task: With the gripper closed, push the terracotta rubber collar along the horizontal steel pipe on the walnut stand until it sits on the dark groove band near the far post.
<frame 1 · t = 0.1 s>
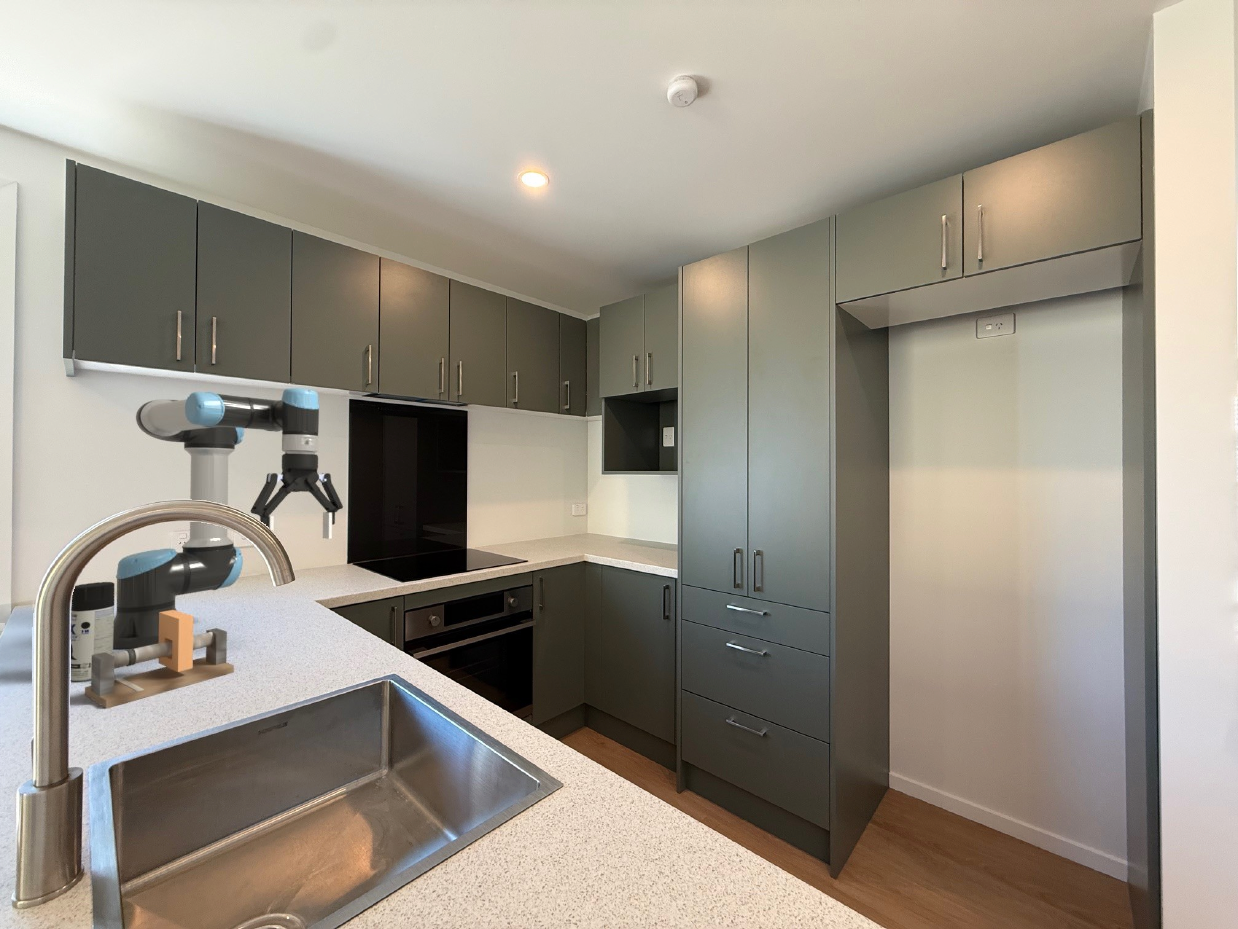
hand: (299, 541, 126), 28 cm above the table, tool pointing down, fingers open, 13 cm apart
pipe stand: (163, 682, 111), on the table
collar: (175, 639, 112), point 8 cm above the table, slide at -2.0 cm
spray can: (91, 677, 114), on the table
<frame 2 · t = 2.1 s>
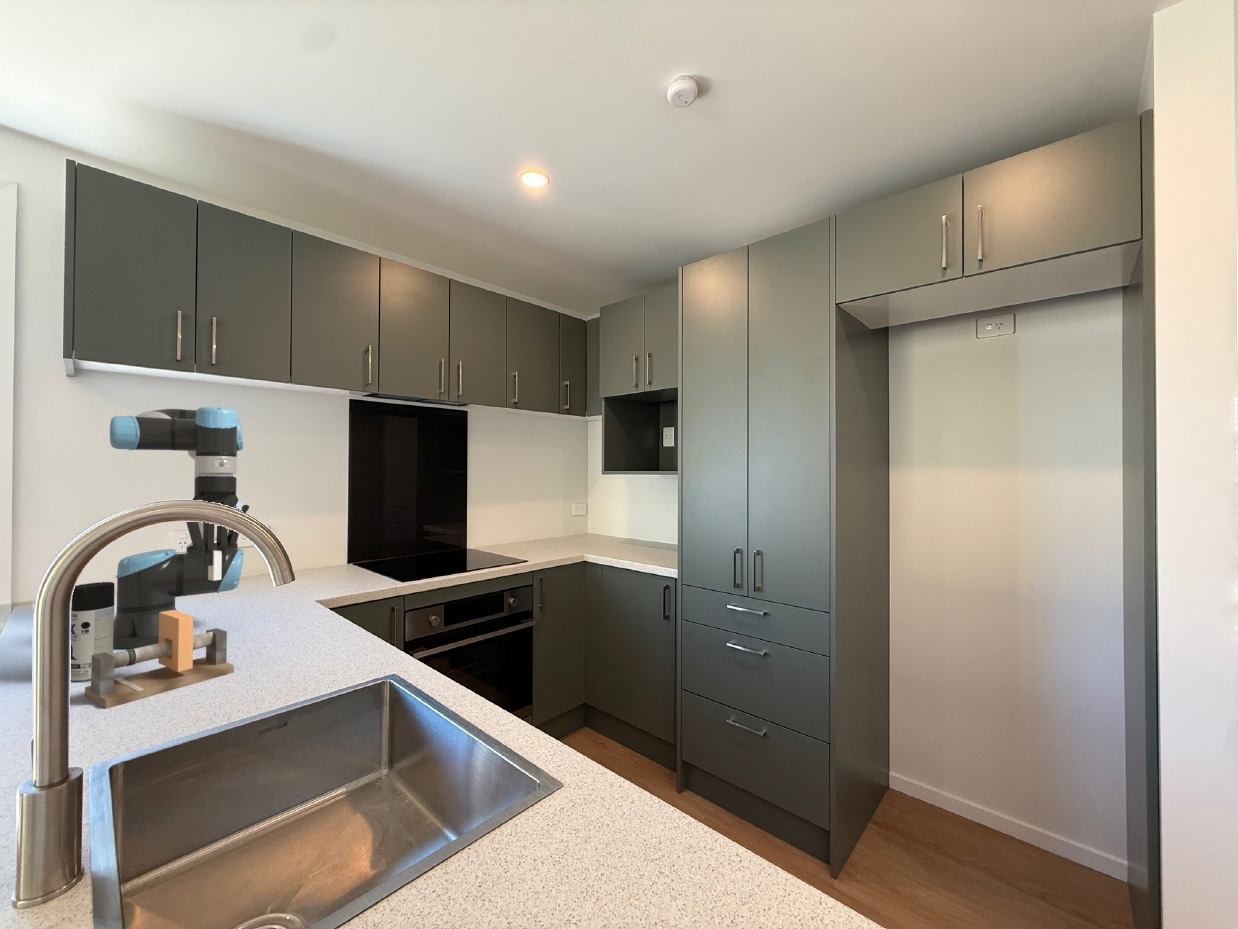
hand: (214, 579, 118), 20 cm above the table, tool pointing down, fingers closed
nothing on the table moved.
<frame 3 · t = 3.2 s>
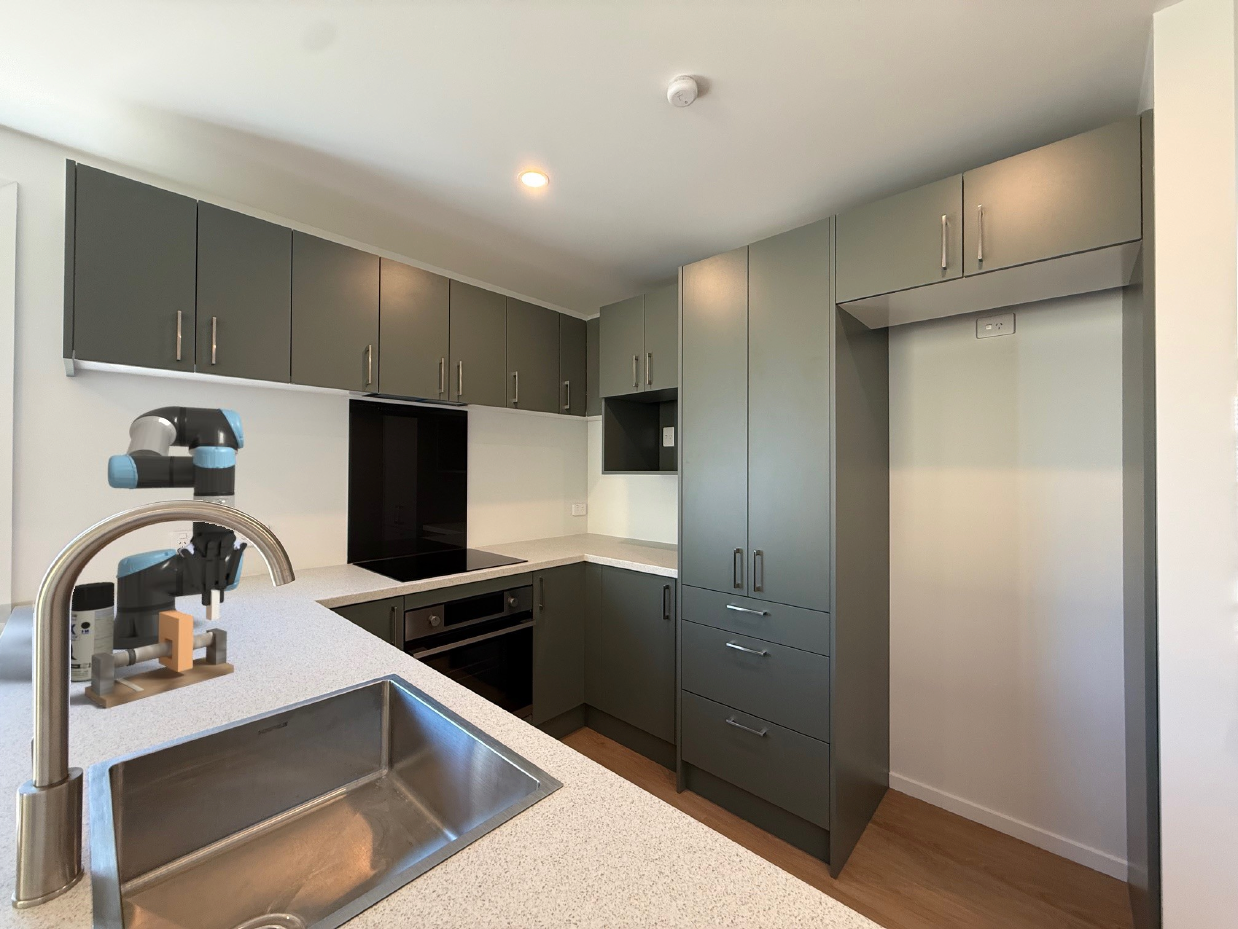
hand: (212, 618, 118), 11 cm above the table, tool pointing down, fingers closed
nothing on the table moved.
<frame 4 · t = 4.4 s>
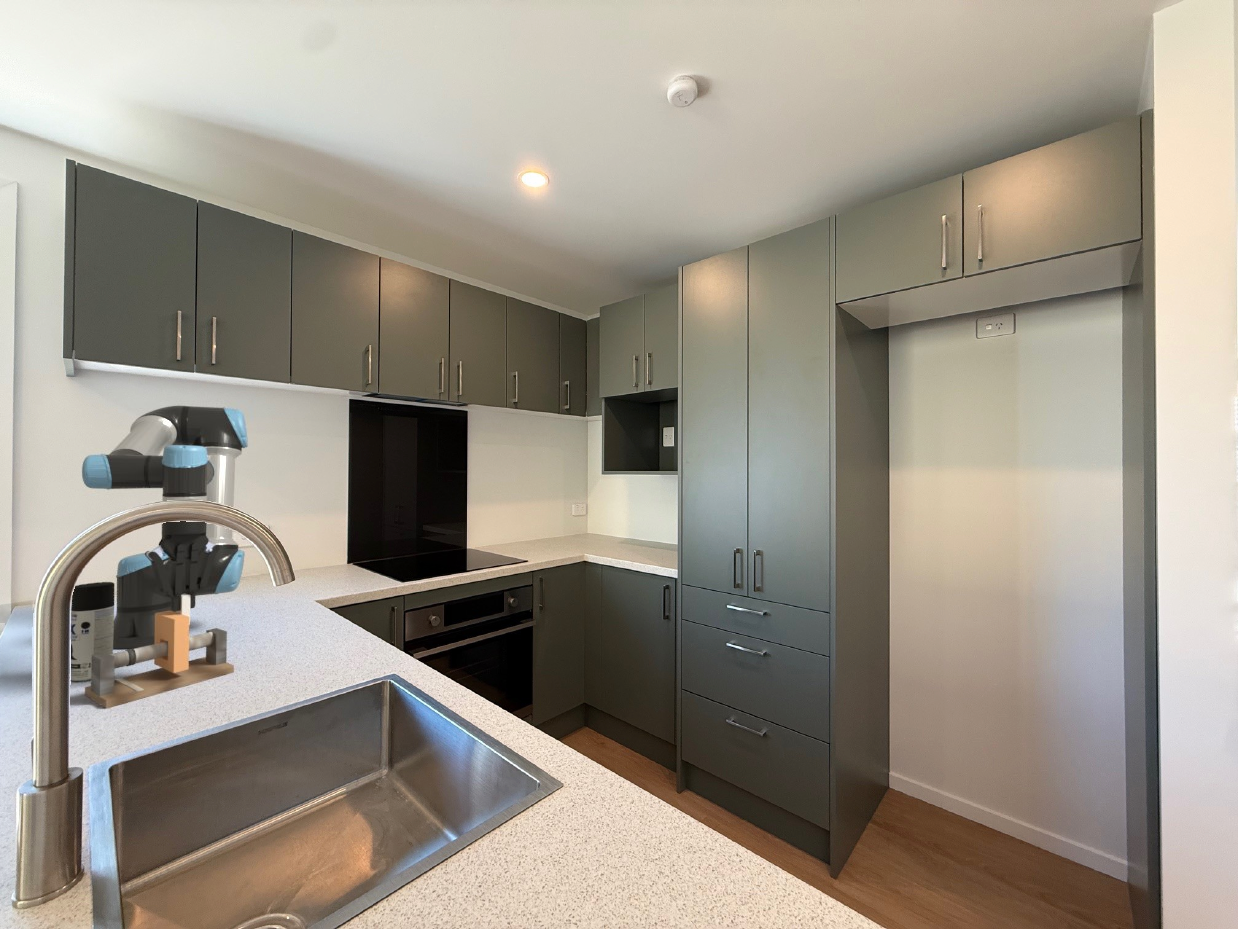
hand: (183, 624, 114), 11 cm above the table, tool pointing down, fingers closed
collar: (171, 640, 112), point 8 cm above the table, slide at -1.3 cm, touching gripper
everything else where it was.
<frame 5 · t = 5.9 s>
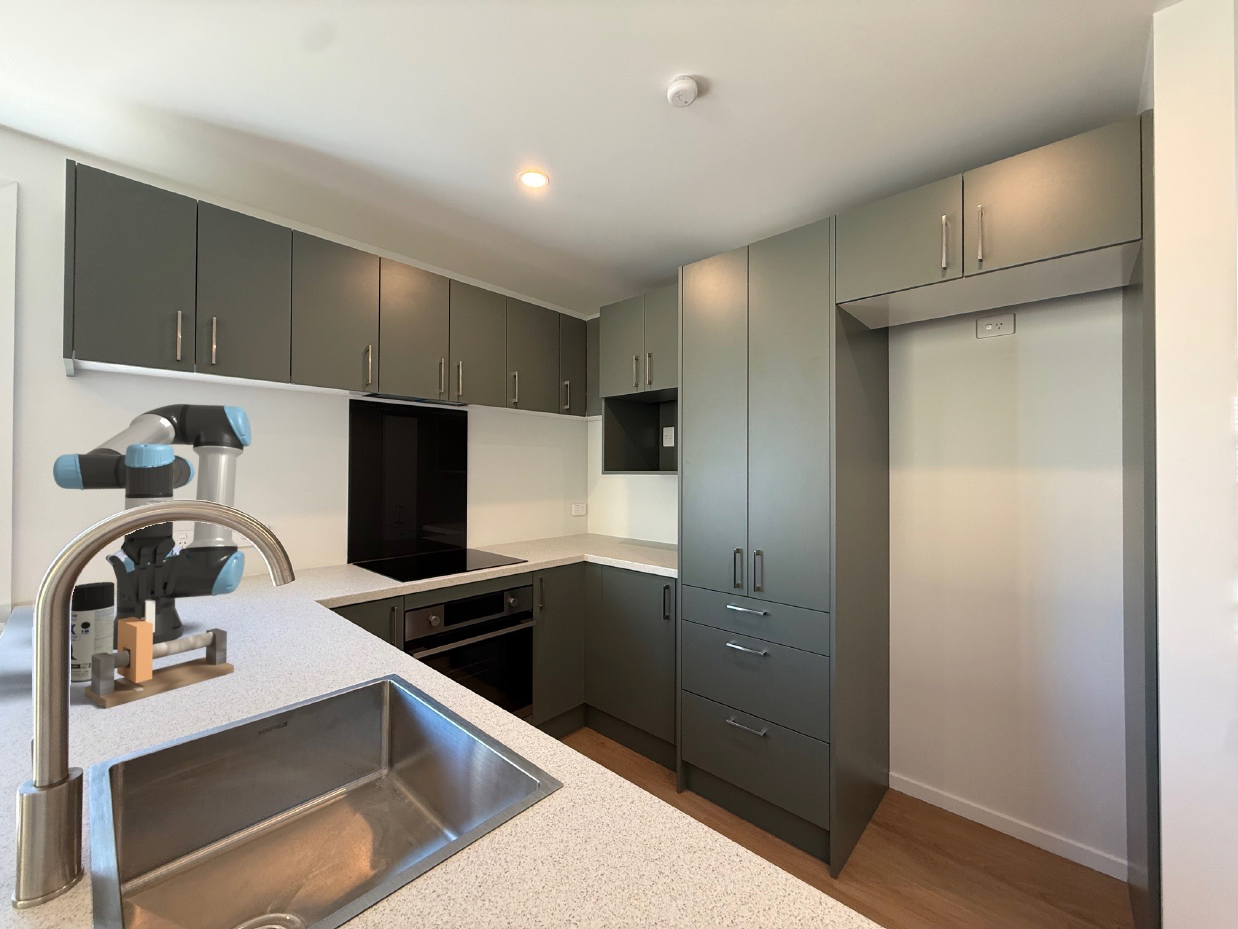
hand: (147, 632, 108), 11 cm above the table, tool pointing down, fingers closed
collar: (134, 648, 107), point 8 cm above the table, slide at 4.7 cm, touching gripper
everything else where it was.
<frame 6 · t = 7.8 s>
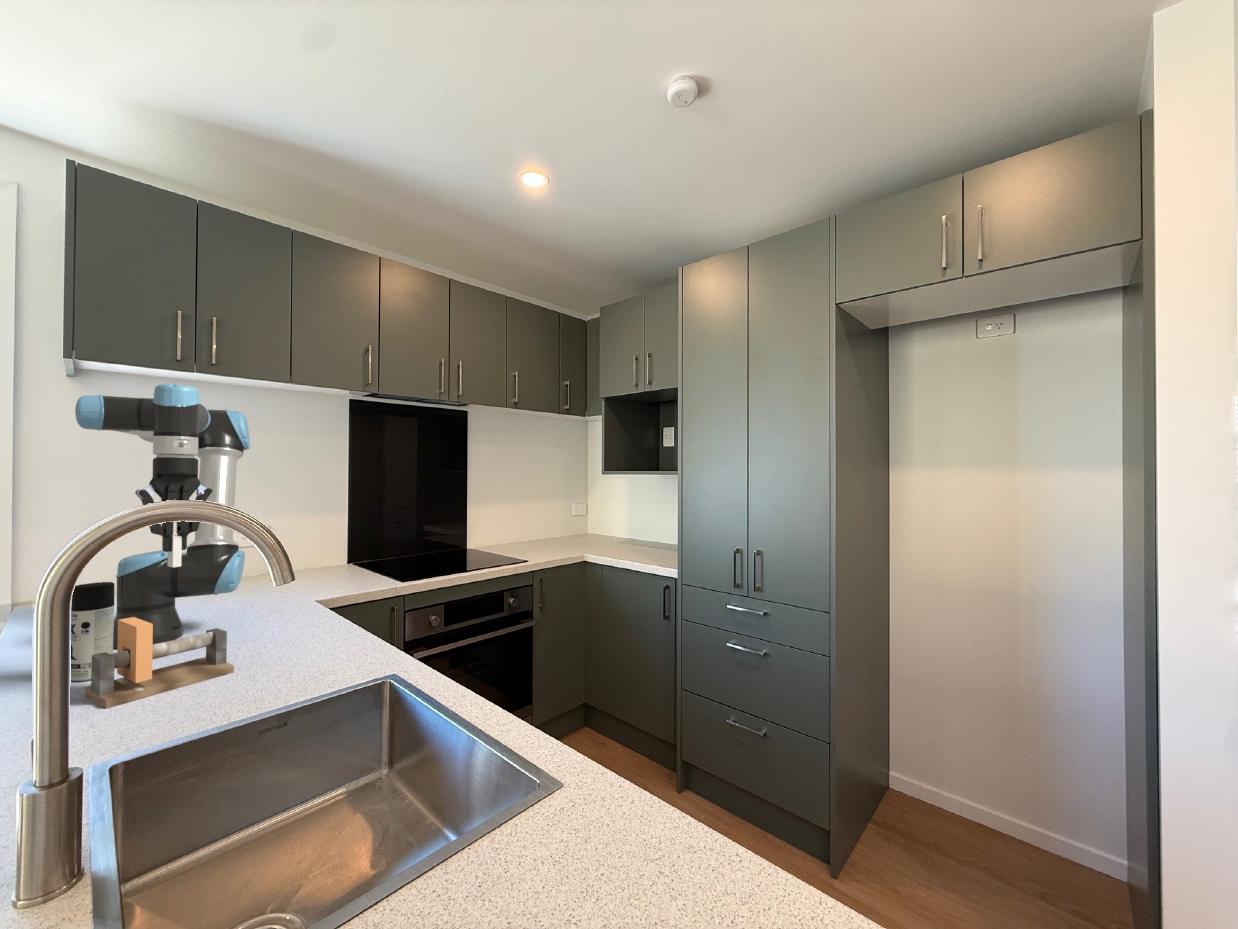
hand: (174, 566, 113), 24 cm above the table, tool pointing down, fingers closed
collar: (134, 648, 107), point 8 cm above the table, slide at 4.8 cm
everything else where it was.
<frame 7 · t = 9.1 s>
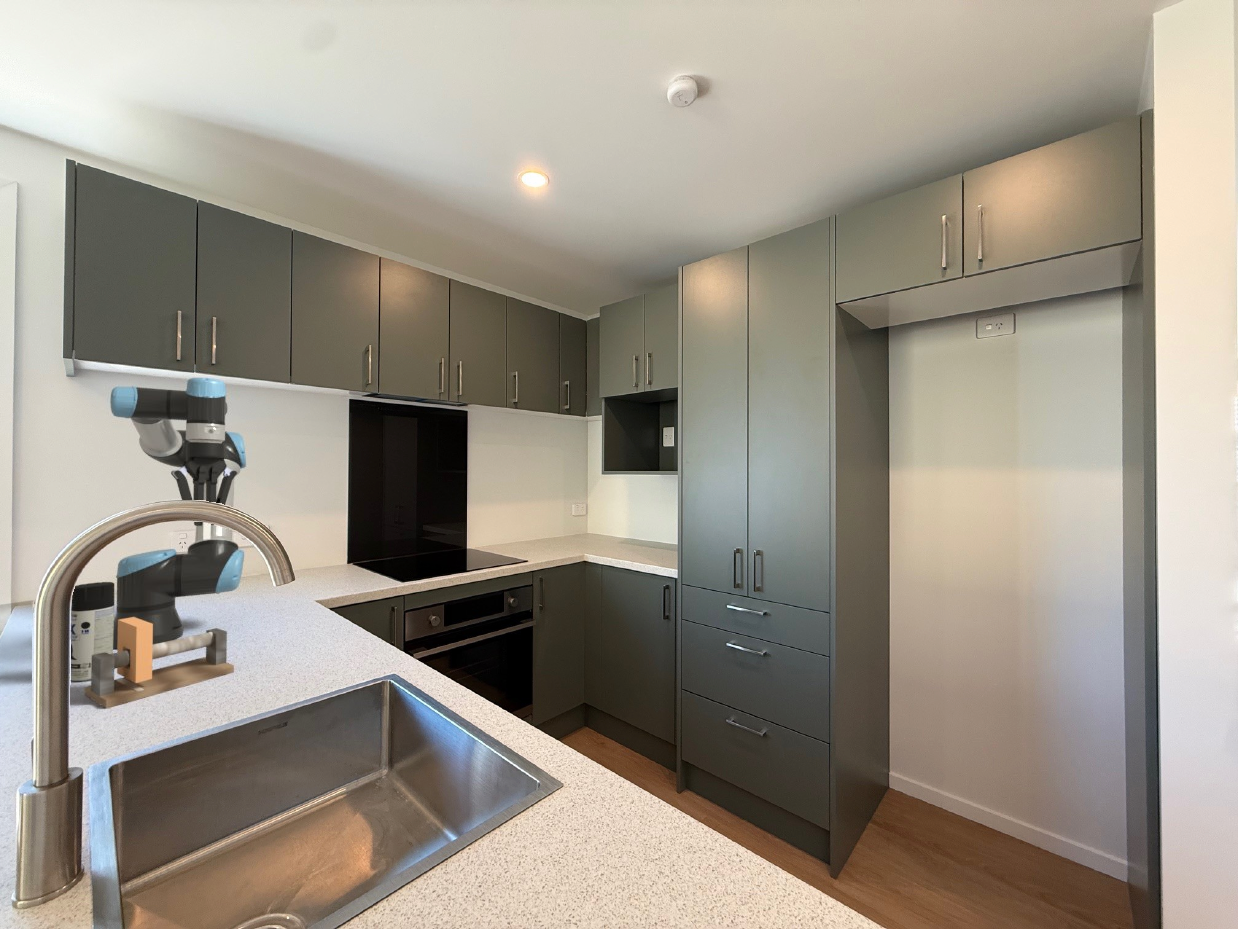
hand: (204, 538, 127), 28 cm above the table, tool pointing down, fingers closed
nothing on the table moved.
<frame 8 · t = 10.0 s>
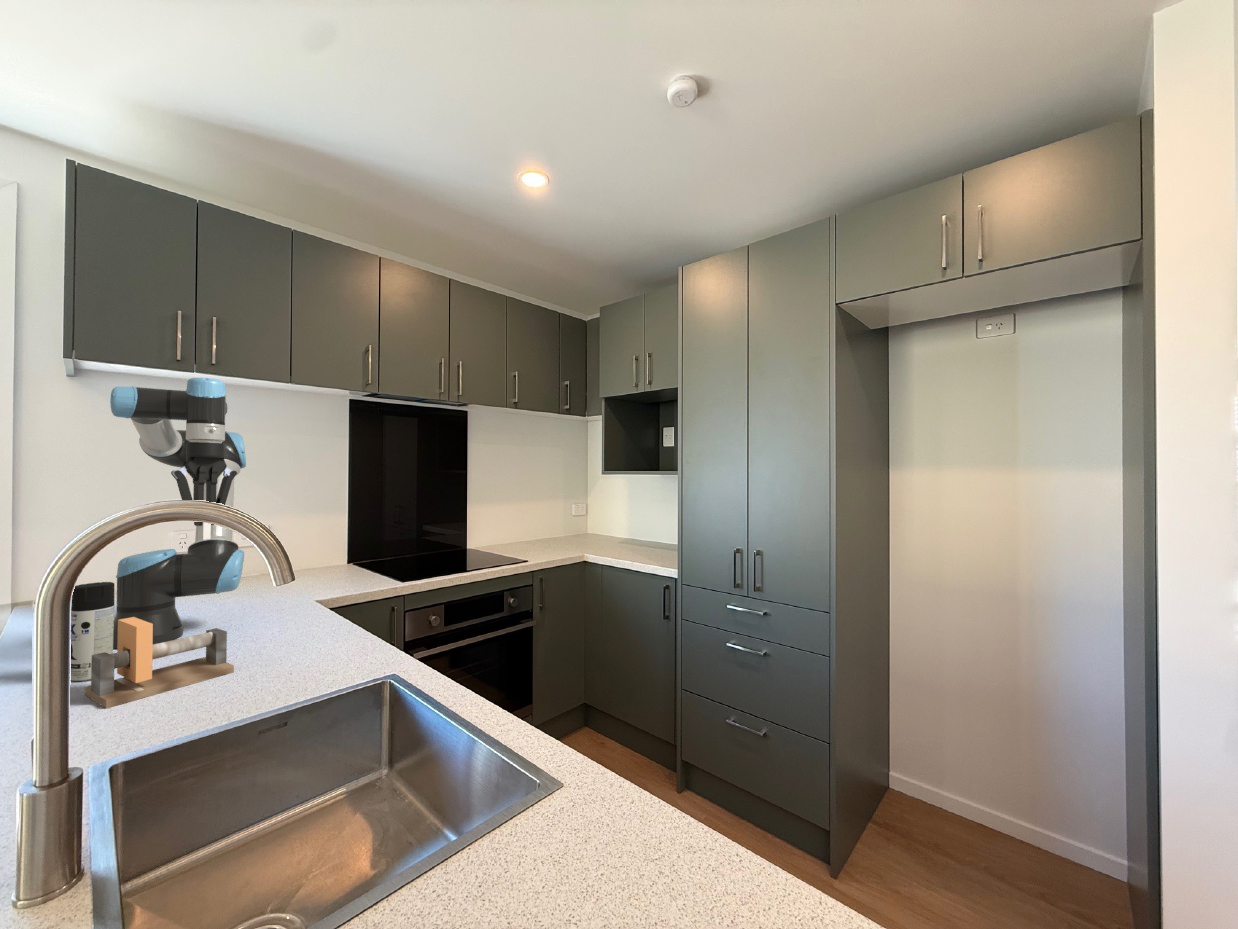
hand: (204, 538, 127), 28 cm above the table, tool pointing down, fingers closed
nothing on the table moved.
at the end: collar slide at 4.8 cm; spray can moved 0.2 cm from its start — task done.
